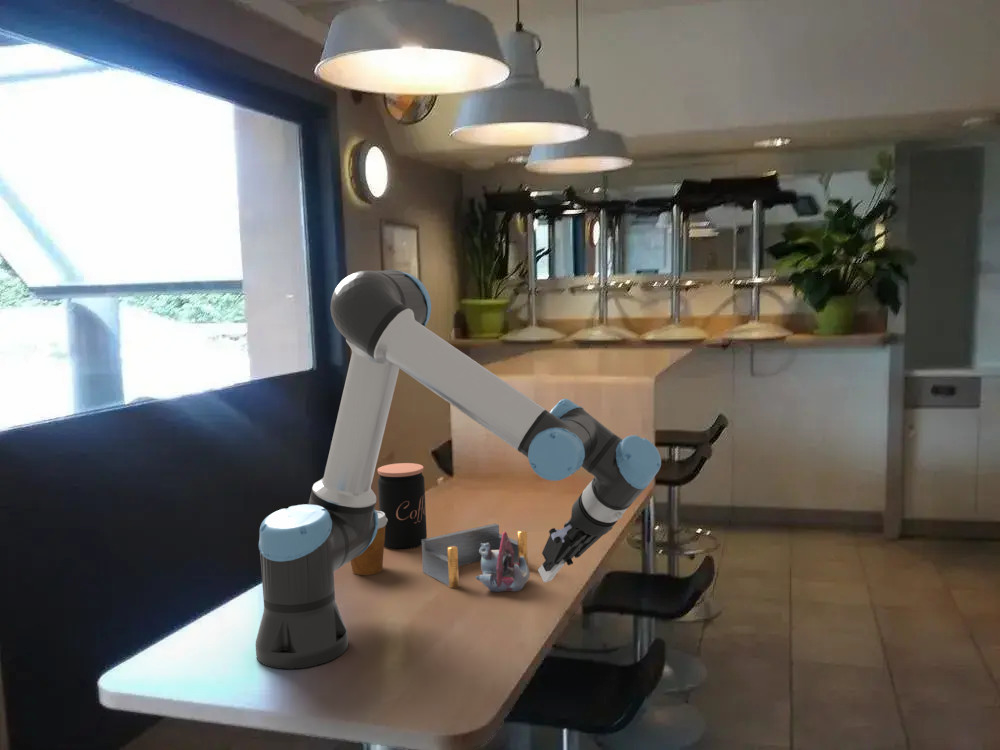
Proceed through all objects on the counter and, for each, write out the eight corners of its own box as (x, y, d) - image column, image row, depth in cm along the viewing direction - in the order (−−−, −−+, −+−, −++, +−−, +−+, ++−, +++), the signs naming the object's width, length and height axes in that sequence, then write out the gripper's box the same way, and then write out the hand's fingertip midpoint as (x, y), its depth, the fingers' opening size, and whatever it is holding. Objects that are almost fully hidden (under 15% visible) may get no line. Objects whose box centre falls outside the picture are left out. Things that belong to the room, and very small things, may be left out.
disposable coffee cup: (335, 571, 186) (332, 516, 185) (370, 560, 193) (368, 507, 192) (363, 581, 180) (360, 524, 178) (399, 569, 186) (396, 514, 185)
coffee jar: (398, 553, 197) (394, 475, 195) (372, 543, 205) (368, 468, 203) (436, 543, 204) (432, 467, 202) (409, 533, 212) (406, 460, 210)
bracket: (452, 588, 173) (450, 549, 173) (421, 572, 184) (420, 535, 183) (530, 568, 184) (528, 531, 183) (497, 553, 194) (495, 518, 193)
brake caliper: (532, 585, 167) (493, 535, 168) (489, 616, 170) (451, 566, 171) (545, 566, 178) (508, 519, 179) (504, 595, 181) (469, 548, 182)
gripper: (580, 532, 142) (524, 601, 158) (640, 517, 149) (580, 585, 165) (559, 493, 146) (506, 565, 161) (618, 481, 153) (562, 551, 169)
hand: (544, 575), depth 163 cm, fingers closed
